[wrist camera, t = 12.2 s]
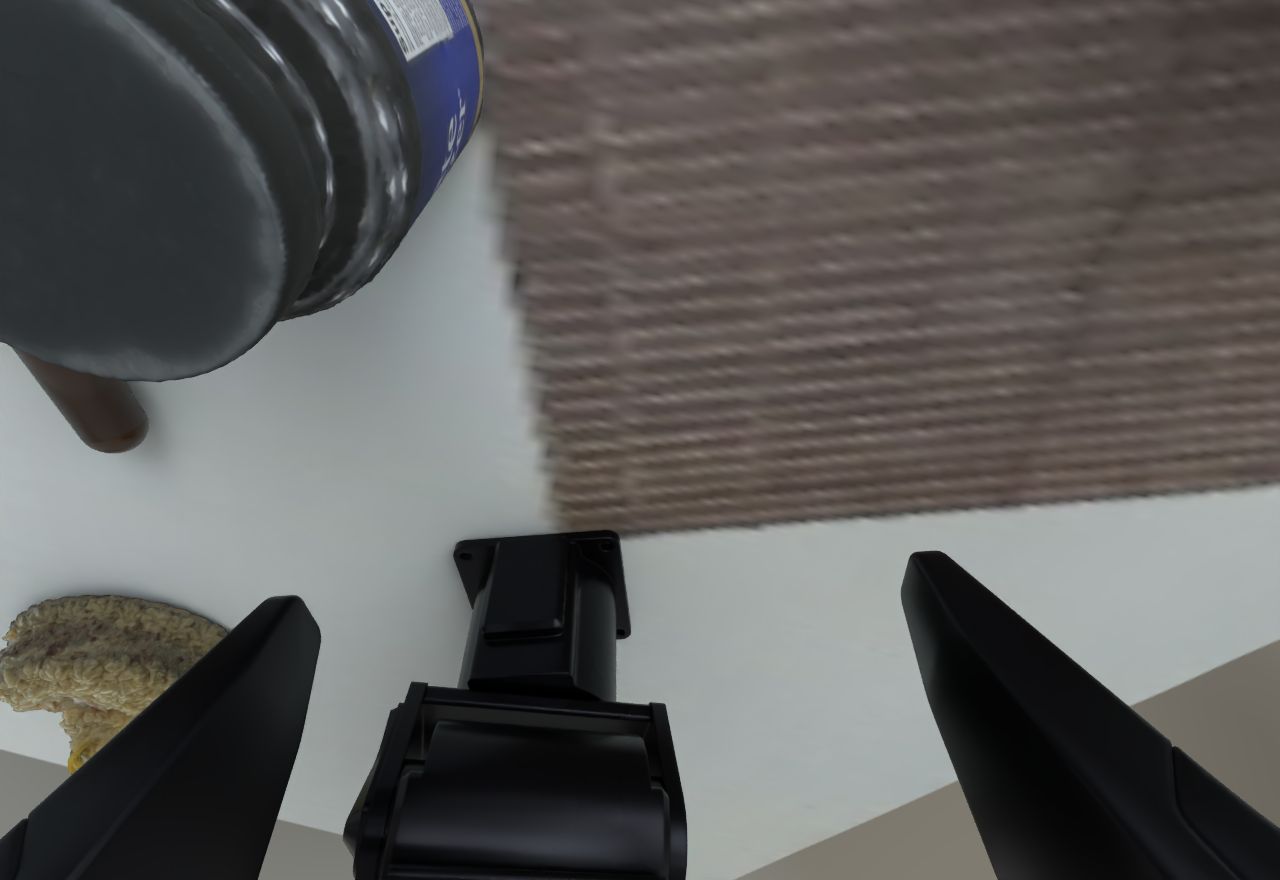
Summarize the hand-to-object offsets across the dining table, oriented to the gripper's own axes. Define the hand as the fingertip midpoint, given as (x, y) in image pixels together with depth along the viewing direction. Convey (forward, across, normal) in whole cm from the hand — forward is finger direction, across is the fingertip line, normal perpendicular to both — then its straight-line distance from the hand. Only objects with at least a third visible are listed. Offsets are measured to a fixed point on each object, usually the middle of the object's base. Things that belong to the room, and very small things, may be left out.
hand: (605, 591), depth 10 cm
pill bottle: (+12, +5, -6) cm, 15 cm away
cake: (+12, +23, +17) cm, 31 cm away
